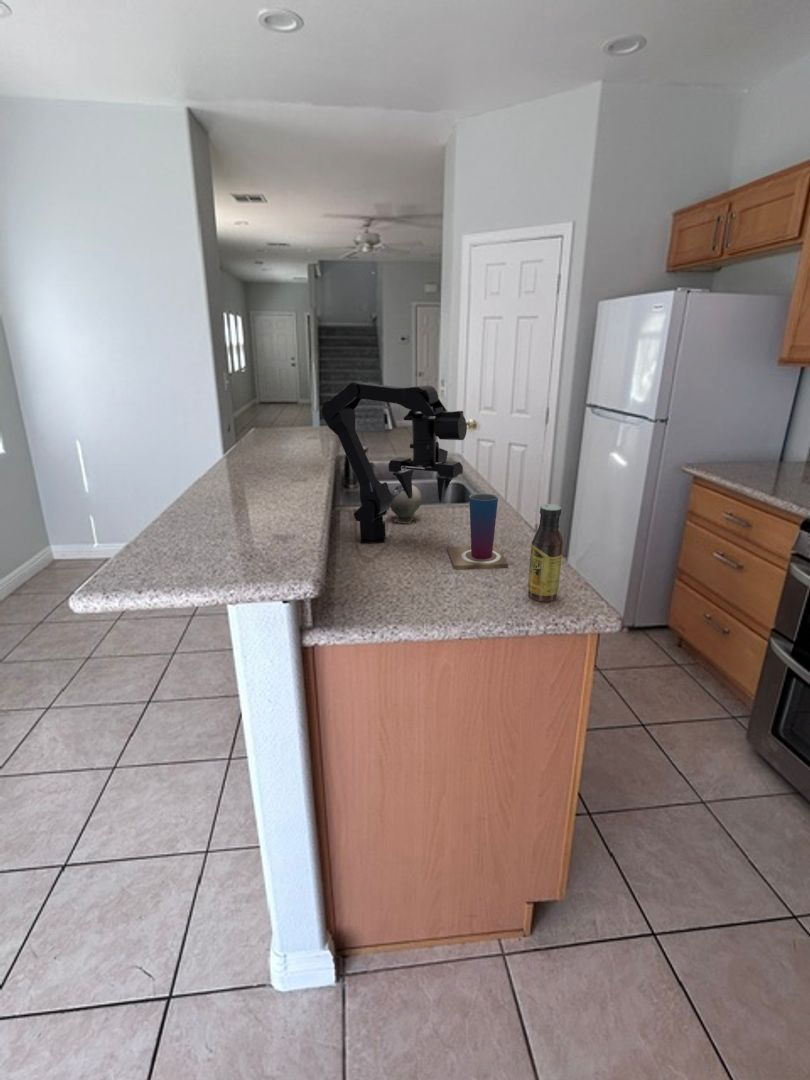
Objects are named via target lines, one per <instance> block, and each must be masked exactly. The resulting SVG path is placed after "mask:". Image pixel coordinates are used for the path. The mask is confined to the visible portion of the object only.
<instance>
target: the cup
mask: <svg viewBox="0 0 810 1080" xmlns="http://www.w3.org/2000/svg"><path fill="white" fill-rule="evenodd" d="M468 501H469V521H470V522H469V524H470V525H469V526H470V546H471V555H472V557H474V558H476V559H488V558H491V557H492V550H493V545H494V540H495V529H496V522H497V512H498V502H499V496H498V495H497V494H494V493H487V492H480V493H479V492H478V493H472V494H470V495H469V500H468Z"/></svg>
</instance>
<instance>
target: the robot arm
mask: <svg viewBox="0 0 810 1080" xmlns="http://www.w3.org/2000/svg"><path fill="white" fill-rule="evenodd" d="M362 400H368V401H376V402H377V401H378V402H384V403H390V404H396V405H399V406H401V407H403V408H405V409H408V410H409V412H408V413H407V414H406V415H405V416H404V417H403V420H404V421H411V435H412V437H411V438H412V443H410V444H409V449H412V458H411V457H396V458H394V459H393V458H392V459H391V460H389V462H388V464H387V466H388V468H387V469H388V472H391V473H392V475H393V476H395V477H396V479H397V480H398V482H399V483H400V485H402V487H403V489H404V491H405V493H406V494H407V496H408V498H409V499H411V498H412V485H413V483H412V481H413V480H412V477H413V475H414V474H413V473H414V470H415V471H425V472H426V471H427V472H437V474H438V477H437V478H436V483H437V491H438V492H437V493H438V494H437V495H438V500H439V503H443V502H444V499H445V497H446V494H447V491H448V488H449V486H450V484H451V482H452V480H453V479H454V478H457V477H458V476H459V475H461V474H463V473H464V471H463V470H464V469H463V465H462V463H461V462H460V461H451V460H447V458H448V453H449V451H448V450H446V449H443V448H440V443H439V441H436V440H437V438H438V439H439V440H441V441H442V440H446V441H447V440H448V441H463V440H464V439H466V436H467V432H468V431H467V429H468V424H467V421H466V417H465V416H464V410H456V411H448V410H447V409H446V407H445V406H444V404H443V402H441V400H440V398H439V394H438V391H437V390H436V389H435V387H434V386H432V385H418V386H417V385H416V386H406V387H405V386H404V387H401V386H394V385H393V386H392V385H387V384H386V385H385V384H377V383H376V384H375V383H371V382H370V383H369V382H364V381H361V380H360V381H353V382H350V383H349V384H348V385H347V386H346V387H344V389H343V390H342V391H340V392H339V393H337V394H336V395H334V396H333V397H332V398H331V399H329V400H327V401H325V402H324V403H323V405H322V406H321V410H320V414H321V417H322V420H323V421H324V422H325V424H326V426H327V427H328V429H330V430H331V431H332V432H333V433H334V434H335V435H336V436H337V437H338V439H339V442H340V445H341V447H342V448H343V451H344V454H345V456H346V458H347V460H348V462H349V465H350V467H351V469H352V472H353V474H354V476H355V479H356V481H357V483H358V485H359V495H358V496H359V501H360V505H361V506H360V507H359V508H358V509H357V510H356V511H355V512H354V513H353V516H354V519H355V521H356V522H359V543H360V544H369V543H371V544H372V543H384V542H385V539H386V521H384V518H383V516H386V515H387V514H388V513H387V512H388V510H389V509H391V508H390V507H391V504H392V498H391V496H392V494H391V493H392V492H391V491H390V488H389V485H388V483H387V482H386V481H385V482H383V483H381V482H380V481H379V480H378V479H377V477H376V475H375V472H374V470H373V468H372V465H371V464H370V461H369V458H368V456H367V454H366V452H365V450H364V447H363V444H362V442H361V440H360V438H359V435H358V433H357V431H356V415H355V410H356V409H357V407H359V405H360V403H361V402H362ZM436 437H437V438H436Z"/></svg>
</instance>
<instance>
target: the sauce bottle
mask: <svg viewBox="0 0 810 1080" xmlns="http://www.w3.org/2000/svg"><path fill="white" fill-rule="evenodd" d="M539 513H540V515H539V516H540V517H539V525H538V528H537V529H536V532H535V535H534V536H533V539H532V541H531V545H530V557H529V567H528V568H529V569H528V581H527V589H528V590H527V595H528V596H529V598H531V599H533V600H534V601H537V602H552V601H554V600H556V599H557V596H558V593H559V585H560V579H561V578H560V576H561V569H562V568H561V567H562V559H563V558H562V557H563V545H564V539H563V536H562V534H561V532H560V530H559V528H560V524H559V523H560V516H561V514H562V507H561V506H559V505H557V504H553V503H552V504H551V503H547V504H542V505H541V506H540V509H539Z"/></svg>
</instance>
